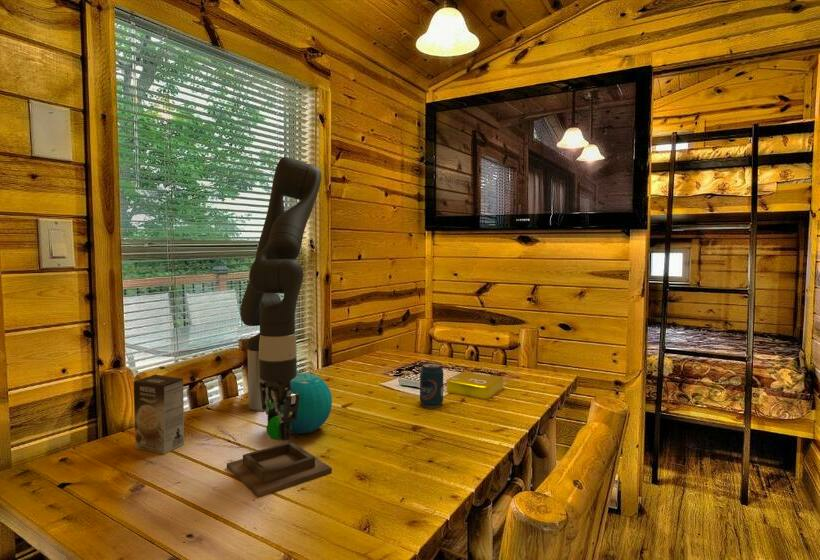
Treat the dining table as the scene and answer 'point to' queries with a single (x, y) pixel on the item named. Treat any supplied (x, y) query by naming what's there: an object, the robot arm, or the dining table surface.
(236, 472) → the tray
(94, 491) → the dining table surface
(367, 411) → the dining table surface
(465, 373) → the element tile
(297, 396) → the robot arm
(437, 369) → the soda can
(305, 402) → the decorative orb
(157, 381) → the coffee box
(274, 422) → the polyhedron
